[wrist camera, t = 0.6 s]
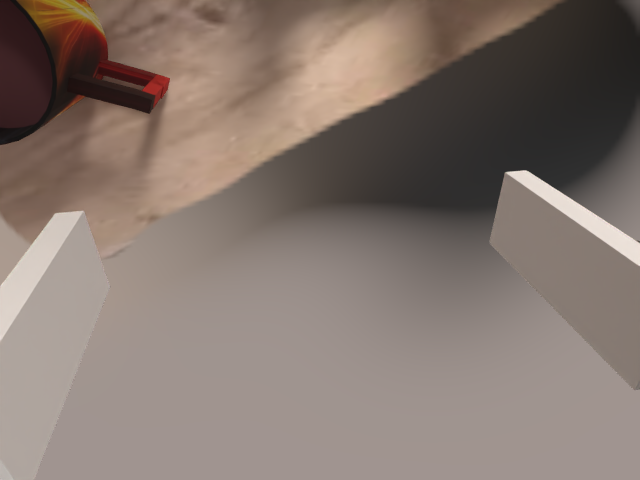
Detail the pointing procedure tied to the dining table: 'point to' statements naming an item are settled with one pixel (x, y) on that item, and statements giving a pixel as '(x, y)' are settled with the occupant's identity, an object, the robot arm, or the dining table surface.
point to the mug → (60, 66)
